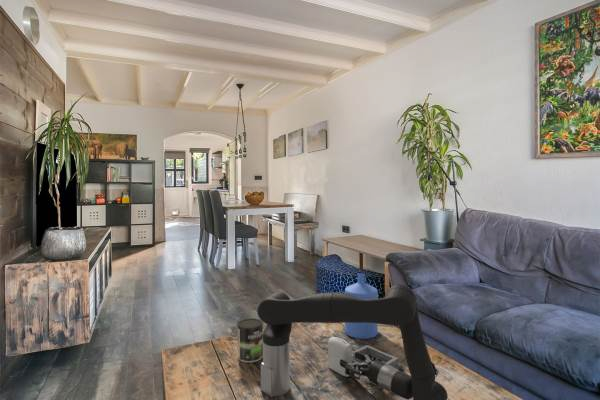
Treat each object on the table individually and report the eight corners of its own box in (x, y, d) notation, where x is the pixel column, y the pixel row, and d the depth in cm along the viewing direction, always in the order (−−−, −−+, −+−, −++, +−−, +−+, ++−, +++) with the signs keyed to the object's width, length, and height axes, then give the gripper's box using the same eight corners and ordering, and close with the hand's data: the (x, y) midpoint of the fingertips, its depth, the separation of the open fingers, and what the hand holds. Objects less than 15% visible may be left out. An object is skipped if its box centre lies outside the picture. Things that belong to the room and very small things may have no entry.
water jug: (346, 339, 161) (346, 278, 160) (343, 325, 177) (343, 270, 175) (380, 340, 161) (381, 279, 159) (374, 325, 176) (375, 270, 175)
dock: (384, 378, 130) (384, 369, 129) (348, 361, 142) (348, 352, 142) (402, 367, 138) (402, 358, 137) (366, 351, 150) (367, 343, 150)
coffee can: (267, 357, 145) (267, 323, 145) (246, 365, 139) (245, 330, 138) (254, 348, 153) (254, 316, 153) (233, 355, 147) (232, 322, 146)
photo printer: (326, 367, 138) (326, 336, 137) (334, 363, 140) (334, 333, 140) (345, 378, 130) (345, 345, 129) (353, 374, 132) (353, 342, 132)
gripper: (397, 358, 124) (360, 342, 136) (372, 373, 114) (335, 354, 127) (396, 379, 124) (360, 361, 136) (371, 395, 115) (334, 374, 127)
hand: (348, 358), depth 131 cm, fingers open, 8 cm apart
